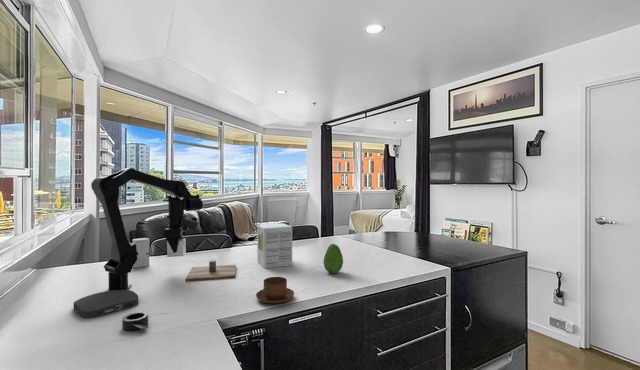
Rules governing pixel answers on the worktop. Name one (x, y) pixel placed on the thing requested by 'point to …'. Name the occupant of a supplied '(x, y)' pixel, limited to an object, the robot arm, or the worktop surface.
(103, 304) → the media streaming box
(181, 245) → the white cube
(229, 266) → the post stand
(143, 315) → the duct tape
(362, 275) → the worktop surface
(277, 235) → the supplement box
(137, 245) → the skincare box
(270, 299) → the cup and saucer
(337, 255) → the avocado
